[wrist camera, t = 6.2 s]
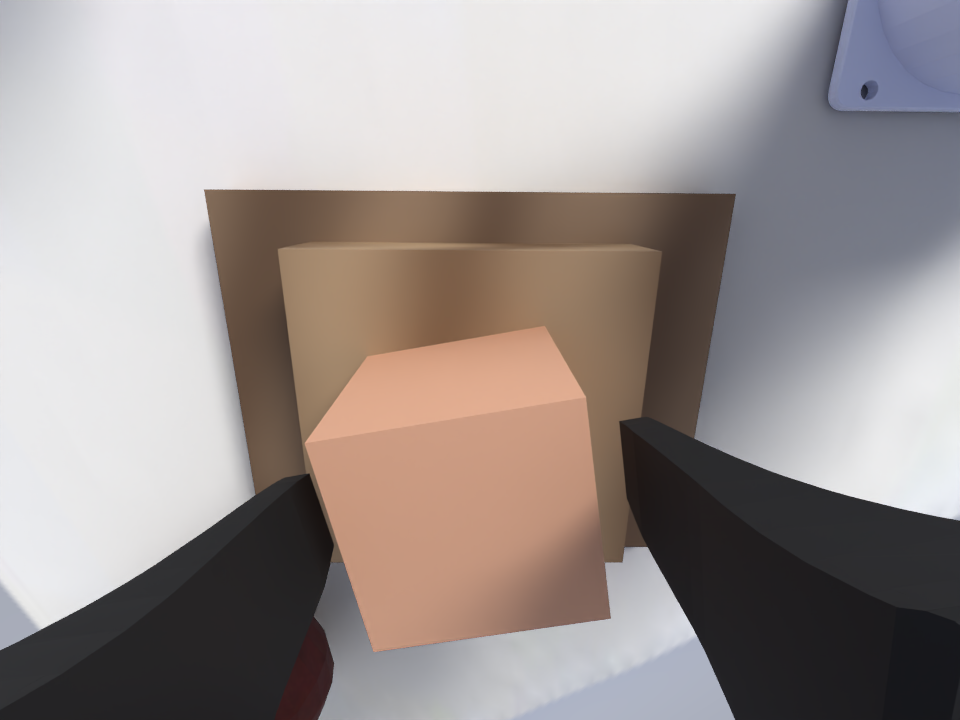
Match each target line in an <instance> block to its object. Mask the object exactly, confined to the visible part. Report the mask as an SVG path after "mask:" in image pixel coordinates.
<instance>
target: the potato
mask: <svg viewBox="0 0 960 720" xmlns="http://www.w3.org/2000/svg"><path fill="white" fill-rule="evenodd" d="M333 667H334V662H333V658H332V655H331V652H330V648H329V645H328V641H327V638H326V635H325V631H324V629H323V628H322V627H321V625H320V624H319V623H318V622H317V620H316V619H315V618H314V617H313V618H312V621H311V624H310V626H309V629H308V631H307V634H306V636H305V639H304V641H303V644H302V646H301V649H300V652H299V654H298V657H297V659H296V662H295V664H294V667H293V669H292V672H291V675H290V677H289V680H288V682H287V685H286V687H285V690H284V693H283V696H282V699H281V701H280V704H279V707H278V710H277V713H276V716H275V720H318V718H319V716H320V713H321V711H322V709H323V706H324V704H325V701H326V698H327V695H328V692H329V689H330V687H331V684H332V678H333Z"/></svg>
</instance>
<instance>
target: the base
mask: <svg viewBox="0 0 960 720" xmlns="http://www.w3.org/2000/svg"><path fill="white" fill-rule="evenodd" d="M204 191H205V197H206V203H207V209H208V215H209V221H210V227H211V233H212V239H213V245H214V251H215V257H216V263H217V268H218V274H219V280H220V286H221V292H222V298H223V304H224V310H225V316H226V322H227V328H228V334H229V340H230V345H231V351H232V357H233V363H234V369H235V375H236V381H237V387H238V393H239V399H240V405H241V411H242V417H243V423H244V428H245V434H246V440H247V446H248V452H249V458H250V464H251V470H252V476H253V482H254V488H255V494H256V495H257V494H258V493H260V492H261V491H263V490H264V489H266V488H267V487H269V486H270V485H272V484H274V483H275V482H277V481H279V480H281V479H283V478H285V477H291V476H296V475H302V474H308V473H309V474H310V476H311V479H312V482H313V485H314V488H315V491H316V494H317V497H318V500H319V502H320V505H321V508H322V511H323V514H324V517H325V520H326V523H327V525H328V528H329V531H330V534H331V537H332V540H333V543H334V548H333V553H332V558H331V562H344V561H343V558H342V555H341V552H340V549H339V546H338V543H337V540H336V537H335V534H334V531H333V528H332V525H331V522H330V519H329V516H328V513H327V510H326V507H325V504H324V501H323V498H322V495H321V492H320V489H319V486H318V483H317V480H316V477H315V474H314V471H313V468H312V465H311V461H310V458H309V455H308V452H307V449H306V446H305V442H306V441H307V439H308V438H309V436H310V435H311V434H312V432H313V431H314V429H315V428H316V427H317V425H318V424H319V423H320V421H321V420H322V418H323V417H324V416H325V414H326V413H327V411H328V410H329V409H330V407H331V406H332V404H333V403H334V402H335V400H336V399H337V398H338V396H339V395H340V393H341V392H342V391H343V389H344V388H345V386H346V385H347V384H348V382H349V381H350V380H351V378H352V377H353V375H354V374H355V373H356V371H357V370H358V368H359V367H360V366H361V364H362V363H363V362H364V360H365V359H366V357H367V356H372V355H378V354H384V353H390V352H396V351H401V350H407V349H413V348H419V347H425V346H431V345H436V344H442V343H448V342H454V341H460V340H466V339H471V338H477V337H483V336H489V335H495V334H501V333H506V332H512V331H518V330H524V329H530V328H535V327H541V326H545V327H546V329H547V331H548V332H549V334H550V336H551V338H552V339H553V341H554V343H555V344H556V346H557V348H558V350H559V351H560V353H561V355H562V357H563V358H564V360H565V362H566V363H567V365H568V367H569V369H570V370H571V372H572V374H573V376H574V377H575V379H576V381H577V382H578V384H579V386H580V388H581V389H582V391H583V393H584V395H585V396H586V402H587V411H588V420H589V428H590V437H591V446H592V455H593V464H594V473H595V482H596V491H597V500H598V509H599V518H600V527H601V536H602V545H603V554H604V562H622V561H623V553H624V547H647V545H646V543H645V541H644V539H643V537H642V535H641V533H640V530H639V528H638V525H637V523H636V521H635V518H634V516H633V513H632V510H631V508H630V505H629V503H628V500H627V496H626V486H625V476H624V466H623V456H622V446H621V436H620V425H619V421H623V420H629V419H634V418H640V417H649V418H652V419H654V420H656V421H659V422H661V423H663V424H665V425H667V426H669V427H671V428H673V429H675V430H677V431H679V432H681V433H683V434H685V435H688V436H690V437H692V438H694V436H695V430H696V424H697V418H698V412H699V407H700V401H701V395H702V389H703V383H704V377H705V371H706V366H707V360H708V354H709V348H710V342H711V336H712V330H713V325H714V319H715V313H716V307H717V301H718V295H719V289H720V284H721V278H722V272H723V266H724V260H725V254H726V248H727V242H728V237H729V231H730V225H731V219H732V213H733V207H734V201H735V196H736V194H683V193H562V192H441V191H320V190H204Z"/></svg>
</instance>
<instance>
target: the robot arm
mask: <svg viewBox="0 0 960 720" xmlns="http://www.w3.org/2000/svg"><path fill="white" fill-rule="evenodd" d="M864 84H865V85H866V86H867V88H868V94H867V96H866V98H865V99H863V98H862V96H861V88H862V86H863V85H864ZM828 101H829V103H830V106H831V107H832V108H834V109H835V110H839V111H901V112H960V0H848V4H847V9H846V13H845V18H844V22H843V27H842V32H841V36H840V41H839V46H838V50H837V55H836V60H835V64H834V69H833V73H832V78H831V83H830V87H829V92H828ZM619 425H620V436H621V446H622V456H623V466H624V476H625V486H626V496H627V500H628V503H629V505H630V508H631V510H632V513H633V516H634V518H635V521H636V523H637V525H638V528H639V530H640V533H641V535H642V537H643V539H644V541H645V543H646V545H647V547H648V548H649V550H650V552H651V554H652V556H653V558H654V559H655V561H656V563H657V565H658V567H659V568H660V570H661V572H662V574H663V575H664V577H665V579H666V581H667V583H668V584H669V586H670V588H671V590H672V592H673V593H674V595H675V597H676V599H677V600H678V602H679V604H680V606H681V608H682V609H683V611H684V613H685V615H686V616H687V618H688V620H689V622H690V624H691V625H692V627H693V629H694V631H695V633H696V635H697V637H698V639H699V641H700V643H701V645H702V646H703V648H704V650H705V652H706V654H707V657H708V659H709V661H710V664H711V666H712V668H713V670H714V673H715V675H716V677H717V679H718V681H719V684H720V686H721V688H722V691H723V693H724V695H725V697H726V700H727V702H728V704H729V706H730V709H731V711H732V713H733V715H734V718H735V720H960V521H958V520H953V519H947V518H942V517H936V516H932V515H927V514H922V513H917V512H913V511H908V510H903V509H899V508H895V507H891V506H887V505H882V504H878V503H874V502H870V501H866V500H862V499H858V498H854V497H850V496H847V495H843V494H840V493H836V492H832V491H829V490H825V489H822V488H819V487H816V486H813V485H810V484H807V483H803V482H800V481H797V480H794V479H791V478H788V477H785V476H782V475H779V474H777V473H774V472H771V471H768V470H766V469H763V468H761V467H758V466H756V465H753V464H751V463H748V462H746V461H743V460H741V459H738V458H736V457H733V456H731V455H729V454H726V453H724V452H722V451H720V450H717V449H715V448H713V447H711V446H709V445H706V444H704V443H702V442H700V441H698V440H696V439H694V438H692V437H690V436H688V435H685V434H683V433H681V432H679V431H677V430H675V429H673V428H671V427H669V426H667V425H665V424H663V423H661V422H659V421H656V420H654V419H652V418H649V417H640V418H634V419H629V420H623V421H619ZM333 548H334V543H333V540H332V537H331V534H330V531H329V528H328V525H327V523H326V520H325V517H324V514H323V511H322V508H321V505H320V502H319V500H318V497H317V494H316V491H315V488H314V485H313V482H312V479H311V476H310V474H309V473H308V474H302V475H296V476H291V477H285V478H283V479H281V480H279V481H277V482H275V483H274V484H272V485H270V486H269V487H267V488H266V489H264V490H263V491H261V492H260V493H258V494H257V495H255V496H254V497H252V498H251V499H250V500H248V501H247V502H245V503H244V504H243V505H241V506H240V507H238V508H237V509H236V510H234V511H233V512H231V513H230V514H229V515H227V516H226V517H224V518H223V519H222V520H220V521H219V522H217V523H216V524H215V525H213V526H212V527H210V528H209V529H208V530H206V531H205V532H203V533H202V534H200V535H199V536H197V537H196V538H194V539H193V540H191V541H190V542H188V543H187V544H185V545H184V546H183V547H181V548H180V549H178V550H177V551H175V552H174V553H172V554H171V555H169V556H168V557H166V558H165V559H163V560H162V561H160V562H159V563H157V564H156V565H154V566H153V567H151V568H150V569H148V570H146V571H145V572H143V573H142V574H140V575H138V576H137V577H135V578H133V579H132V580H130V581H129V582H127V583H125V584H124V585H122V586H120V587H118V588H117V589H115V590H113V591H112V592H110V593H108V594H106V595H105V596H103V597H101V598H100V599H98V600H96V601H94V602H93V603H91V604H89V605H87V606H85V607H84V608H82V609H80V610H78V611H76V612H74V613H72V614H70V615H68V616H67V617H65V618H63V619H61V620H59V621H57V622H55V623H53V624H51V625H49V626H47V627H45V628H44V629H42V630H40V631H38V632H36V633H34V634H32V635H30V636H28V637H26V638H24V639H23V640H21V641H19V642H17V643H15V644H13V645H11V646H9V647H7V648H4V649H2V650H0V720H275V716H276V713H277V710H278V707H279V704H280V701H281V699H282V696H283V693H284V690H285V687H286V685H287V682H288V680H289V677H290V675H291V672H292V669H293V667H294V664H295V662H296V659H297V657H298V654H299V652H300V649H301V646H302V644H303V641H304V639H305V636H306V634H307V631H308V629H309V626H310V624H311V621H312V618H313V616H314V613H315V611H316V608H317V605H318V603H319V600H320V597H321V595H322V592H323V589H324V586H325V582H326V579H327V575H328V571H329V567H330V562H331V558H332V553H333Z"/></svg>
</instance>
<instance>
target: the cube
mask: <svg viewBox="0 0 960 720" xmlns="http://www.w3.org/2000/svg"><path fill="white" fill-rule="evenodd" d="M305 446H306V449H307V452H308V455H309V458H310V461H311V465H312V468H313V471H314V474H315V477H316V480H317V483H318V486H319V489H320V492H321V495H322V498H323V501H324V504H325V507H326V510H327V513H328V516H329V519H330V522H331V525H332V528H333V531H334V534H335V537H336V540H337V543H338V546H339V549H340V552H341V555H342V558H343V561H344V564H345V567H346V570H347V573H348V576H349V579H350V582H351V585H352V588H353V591H354V594H355V597H356V600H357V604H358V607H359V610H360V613H361V616H362V619H363V622H364V625H365V628H366V631H367V634H368V637H369V640H370V643H371V646H372V649H373V652H378V651H385V650H392V649H399V648H406V647H413V646H420V645H427V644H434V643H441V642H448V641H455V640H462V639H469V638H477V637H484V636H491V635H498V634H505V633H512V632H519V631H526V630H533V629H540V628H547V627H554V626H561V625H568V624H575V623H583V622H590V621H597V620H604V619H611V617H610V608H609V599H608V590H607V581H606V572H605V563H604V554H603V545H602V536H601V527H600V518H599V509H598V500H597V491H596V482H595V473H594V464H593V455H592V446H591V437H590V428H589V420H588V411H587V402H586V396H585V395H584V393H583V391H582V389H581V388H580V386H579V384H578V382H577V381H576V379H575V377H574V376H573V374H572V372H571V370H570V369H569V367H568V365H567V363H566V362H565V360H564V358H563V357H562V355H561V353H560V351H559V350H558V348H557V346H556V344H555V343H554V341H553V339H552V338H551V336H550V334H549V332H548V331H547V329H546V327H545V326H541V327H535V328H530V329H524V330H518V331H512V332H506V333H501V334H495V335H489V336H483V337H477V338H471V339H466V340H460V341H454V342H448V343H442V344H436V345H431V346H425V347H419V348H413V349H407V350H401V351H396V352H390V353H384V354H378V355H372V356H367V357H366V359H365V360H364V362H363V363H362V364H361V366H360V367H359V368H358V370H357V371H356V373H355V374H354V375H353V377H352V378H351V380H350V381H349V382H348V384H347V385H346V386H345V388H344V389H343V391H342V392H341V393H340V395H339V396H338V398H337V399H336V400H335V402H334V403H333V404H332V406H331V407H330V409H329V410H328V411H327V413H326V414H325V416H324V417H323V418H322V420H321V421H320V423H319V424H318V425H317V427H316V428H315V429H314V431H313V432H312V434H311V435H310V436H309V438H308V439H307V441H306V442H305Z"/></svg>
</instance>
